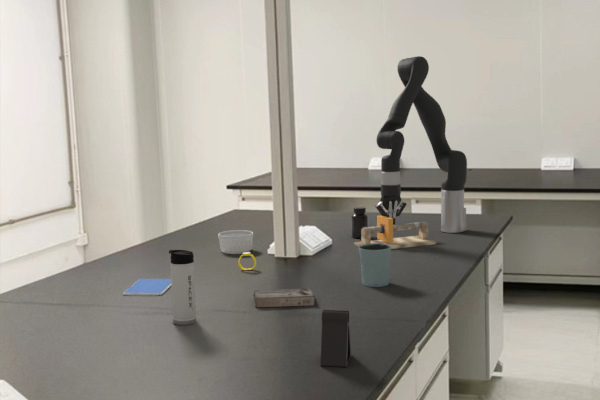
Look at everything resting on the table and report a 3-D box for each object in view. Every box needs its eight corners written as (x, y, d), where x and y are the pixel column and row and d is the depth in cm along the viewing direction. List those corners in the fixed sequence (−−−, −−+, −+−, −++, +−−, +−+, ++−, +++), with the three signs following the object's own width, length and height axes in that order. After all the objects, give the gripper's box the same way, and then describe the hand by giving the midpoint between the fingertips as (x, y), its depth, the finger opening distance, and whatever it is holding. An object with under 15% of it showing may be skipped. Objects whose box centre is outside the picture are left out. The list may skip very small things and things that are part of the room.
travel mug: (172, 319, 247) (169, 248, 244) (196, 318, 248) (193, 247, 245) (171, 325, 241) (168, 252, 238) (196, 324, 241) (193, 251, 238)
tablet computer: (139, 282, 294) (139, 278, 294) (177, 282, 293) (176, 278, 292) (121, 297, 275) (121, 292, 275) (162, 297, 274) (162, 293, 273)
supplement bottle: (367, 238, 356) (366, 209, 354) (350, 238, 357) (349, 208, 356) (369, 235, 363) (369, 206, 361) (352, 235, 364) (352, 206, 362)
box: (253, 300, 268) (253, 290, 267) (311, 297, 269) (311, 287, 269) (255, 309, 257) (254, 298, 257) (315, 306, 258) (314, 295, 258)
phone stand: (327, 354, 214) (326, 305, 213) (351, 355, 213) (351, 306, 211) (320, 366, 206) (319, 315, 204) (346, 367, 204) (345, 316, 203)
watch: (257, 269, 307) (256, 252, 306) (255, 271, 304) (254, 253, 303) (240, 268, 308) (239, 251, 307) (237, 270, 305) (237, 253, 304)
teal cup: (394, 281, 285) (394, 244, 284) (387, 288, 276) (387, 250, 274) (363, 279, 289) (363, 242, 287) (355, 286, 279) (355, 248, 278)
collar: (381, 238, 346) (381, 215, 345) (393, 242, 338) (393, 218, 337) (377, 238, 345) (376, 215, 344) (388, 242, 337) (388, 219, 336)
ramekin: (232, 256, 328) (232, 238, 327) (211, 251, 338) (210, 233, 337) (260, 251, 337) (260, 233, 336) (239, 246, 347) (238, 228, 346)
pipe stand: (417, 238, 355) (417, 218, 354) (436, 244, 343) (436, 223, 341) (354, 244, 345) (353, 224, 343) (371, 251, 332) (370, 230, 331)
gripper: (401, 180, 349) (401, 224, 351) (370, 183, 344) (371, 227, 346) (410, 182, 342) (410, 227, 345) (380, 185, 337) (380, 230, 340)
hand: (391, 227), depth 345 cm, fingers closed
